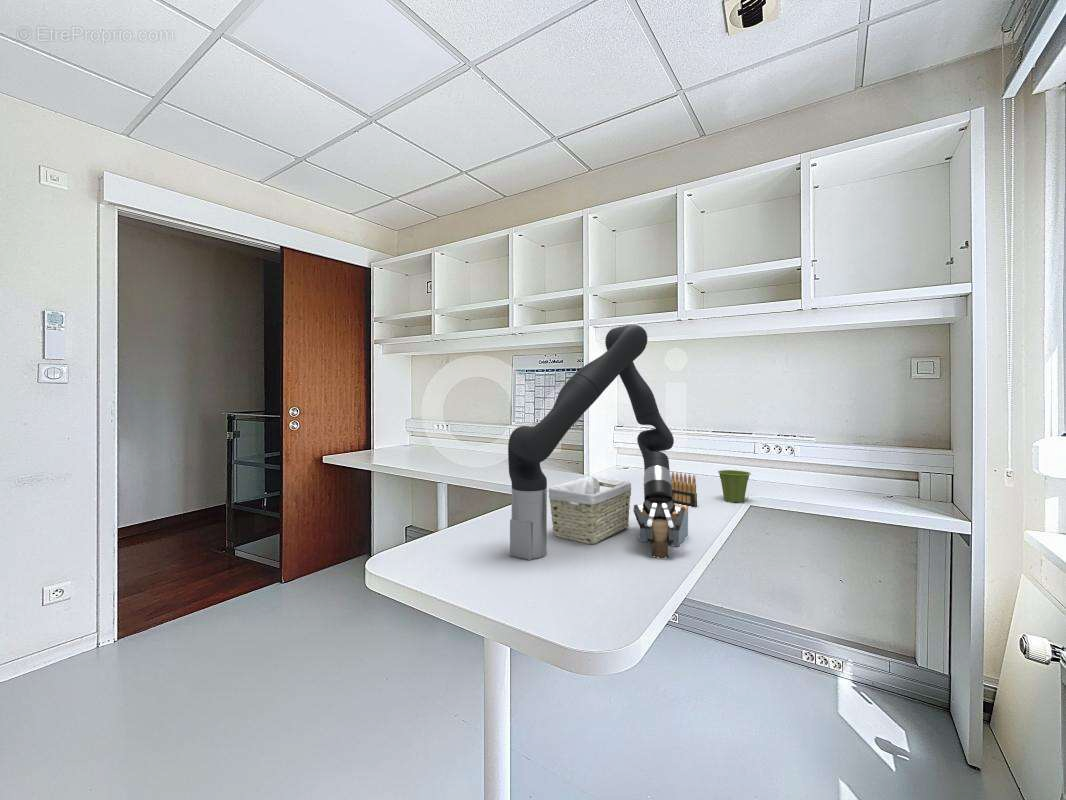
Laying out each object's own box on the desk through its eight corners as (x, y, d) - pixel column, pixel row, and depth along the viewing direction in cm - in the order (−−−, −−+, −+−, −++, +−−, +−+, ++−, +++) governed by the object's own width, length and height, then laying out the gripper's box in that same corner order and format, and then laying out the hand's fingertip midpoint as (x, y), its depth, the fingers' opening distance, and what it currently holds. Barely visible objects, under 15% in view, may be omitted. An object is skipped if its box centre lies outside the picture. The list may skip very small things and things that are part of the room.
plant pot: (752, 499, 186) (752, 471, 186) (748, 505, 176) (748, 475, 176) (720, 496, 192) (720, 468, 192) (714, 502, 182) (715, 472, 182)
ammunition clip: (669, 502, 181) (669, 471, 181) (671, 501, 182) (672, 470, 182) (694, 507, 173) (695, 475, 173) (697, 506, 174) (697, 474, 174)
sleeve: (678, 547, 129) (679, 514, 129) (639, 540, 135) (639, 509, 134) (687, 536, 138) (688, 506, 138) (650, 530, 144) (651, 501, 144)
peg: (665, 559, 119) (665, 524, 119) (650, 556, 121) (650, 522, 121) (669, 555, 123) (670, 520, 123) (654, 552, 125) (654, 518, 125)
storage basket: (592, 548, 128) (593, 494, 128) (545, 536, 139) (545, 486, 138) (633, 528, 147) (633, 481, 147) (589, 519, 157) (589, 475, 157)
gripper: (631, 477, 130) (632, 534, 119) (685, 479, 128) (691, 537, 116) (631, 492, 136) (632, 548, 124) (682, 494, 133) (688, 551, 121)
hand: (660, 542), depth 120 cm, fingers closed on peg, 4 cm apart
